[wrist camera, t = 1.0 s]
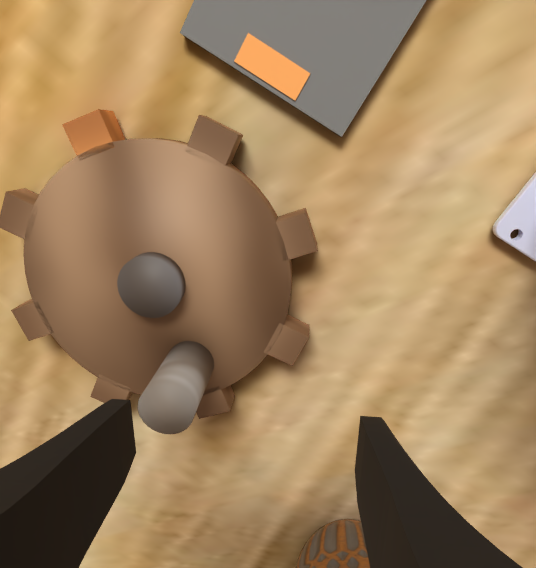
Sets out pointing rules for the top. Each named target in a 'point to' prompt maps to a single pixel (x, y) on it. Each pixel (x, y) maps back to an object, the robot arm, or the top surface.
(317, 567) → the vase
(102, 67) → the top surface
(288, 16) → the mat
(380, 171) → the top surface
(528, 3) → the top surface
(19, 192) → the sprocket wheel
